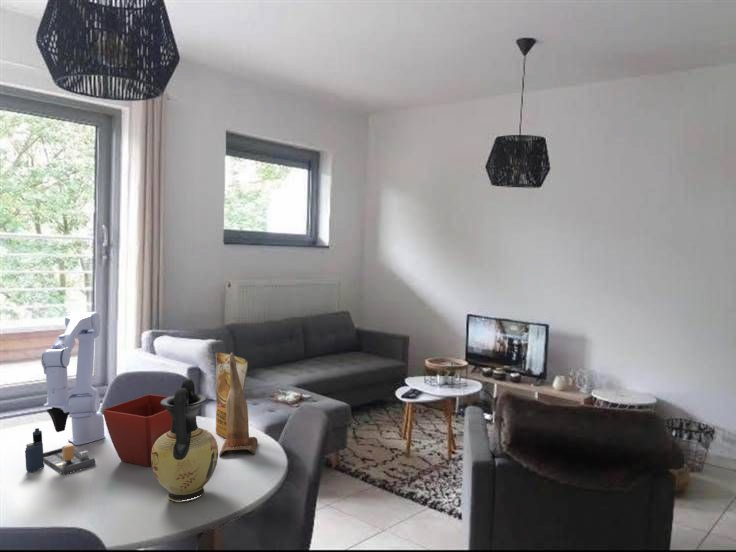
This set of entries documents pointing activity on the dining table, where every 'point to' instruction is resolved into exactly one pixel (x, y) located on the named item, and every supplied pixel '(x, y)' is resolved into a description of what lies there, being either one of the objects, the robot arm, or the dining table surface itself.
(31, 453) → the vaping device
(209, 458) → the amphora
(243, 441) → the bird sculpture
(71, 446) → the orange fader
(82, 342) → the robot arm
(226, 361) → the pancake mix bag
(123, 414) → the plant pot
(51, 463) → the mixer console
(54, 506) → the dining table surface
